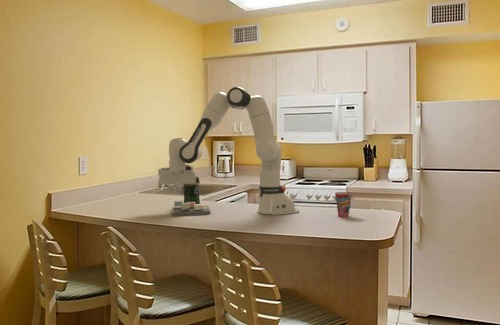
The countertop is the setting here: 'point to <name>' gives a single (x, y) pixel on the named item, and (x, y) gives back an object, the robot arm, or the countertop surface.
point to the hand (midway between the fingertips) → (177, 192)
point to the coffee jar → (192, 192)
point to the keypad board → (189, 211)
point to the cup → (343, 203)
